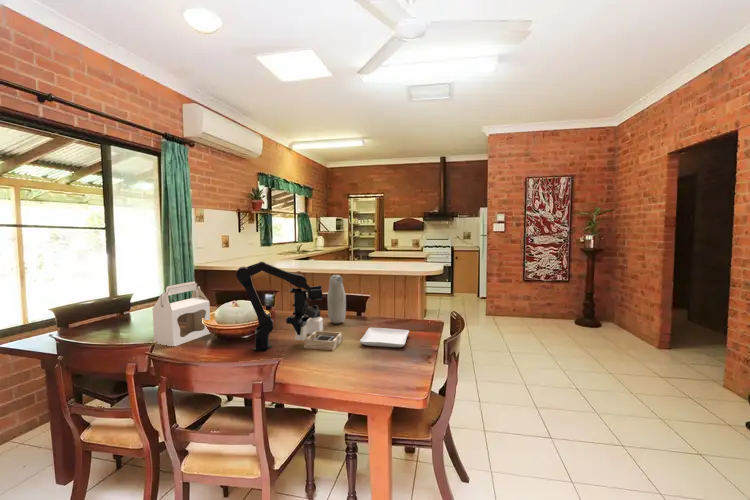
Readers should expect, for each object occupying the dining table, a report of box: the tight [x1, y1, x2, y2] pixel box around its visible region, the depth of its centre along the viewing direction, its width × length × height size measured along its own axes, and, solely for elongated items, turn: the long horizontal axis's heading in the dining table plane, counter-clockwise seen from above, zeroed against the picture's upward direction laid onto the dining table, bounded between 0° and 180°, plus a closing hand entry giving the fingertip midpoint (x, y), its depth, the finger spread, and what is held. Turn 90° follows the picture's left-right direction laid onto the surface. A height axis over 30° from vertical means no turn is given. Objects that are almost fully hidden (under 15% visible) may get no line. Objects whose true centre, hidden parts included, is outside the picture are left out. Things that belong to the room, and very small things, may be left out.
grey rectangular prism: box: [294, 321, 308, 341], centre depth 166 cm, size 4×4×8 cm
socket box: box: [303, 330, 343, 351], centre depth 166 cm, size 14×14×4 cm
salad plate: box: [359, 327, 410, 348], centre depth 170 cm, size 21×21×3 cm
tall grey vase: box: [327, 274, 347, 325], centre depth 200 cm, size 10×10×28 cm
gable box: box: [152, 280, 211, 347], centre depth 175 cm, size 22×13×28 cm, turn 158°
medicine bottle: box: [306, 309, 324, 335], centre depth 184 cm, size 7×7×12 cm
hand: (300, 333), depth 166 cm, fingers closed on grey rectangular prism, 4 cm apart
